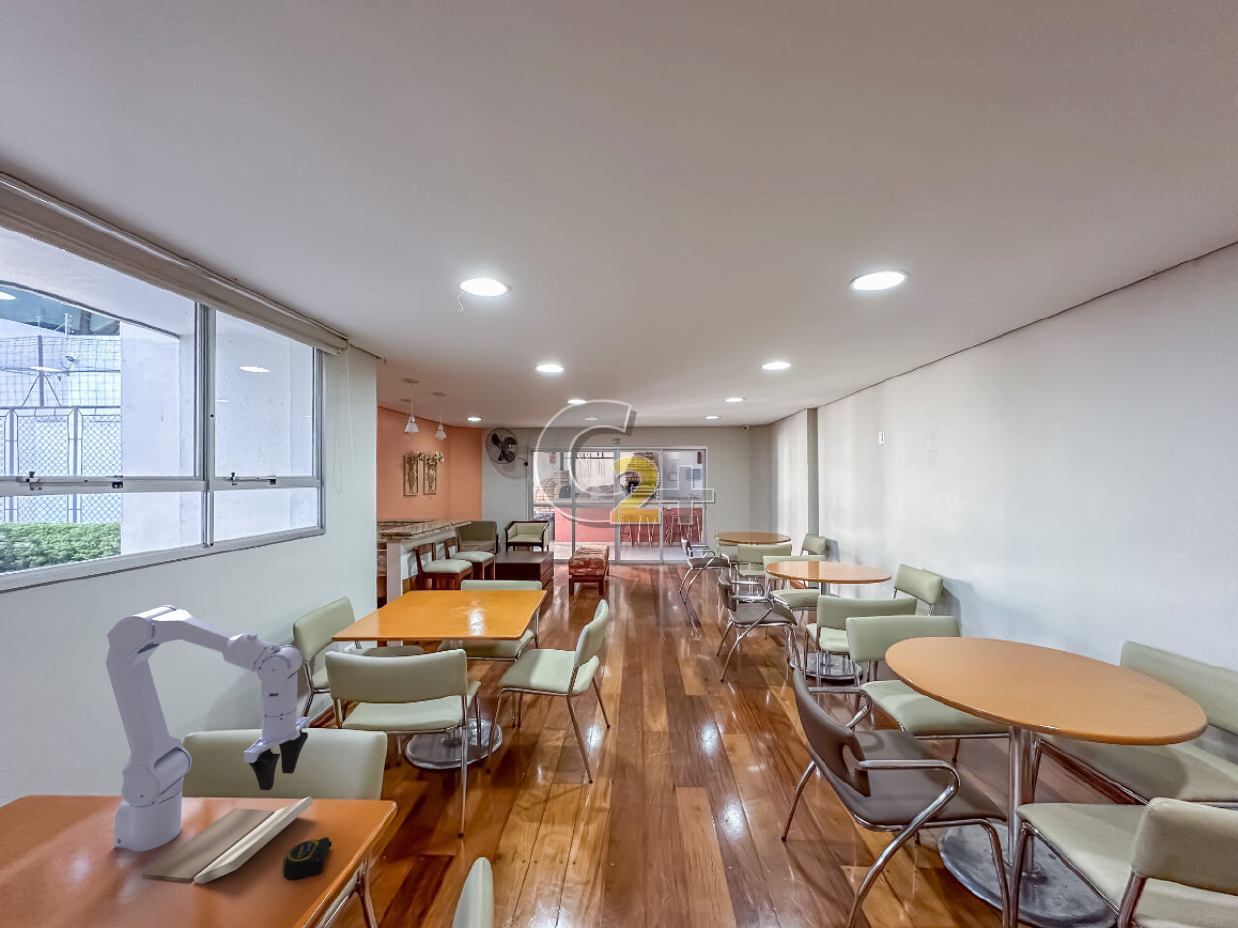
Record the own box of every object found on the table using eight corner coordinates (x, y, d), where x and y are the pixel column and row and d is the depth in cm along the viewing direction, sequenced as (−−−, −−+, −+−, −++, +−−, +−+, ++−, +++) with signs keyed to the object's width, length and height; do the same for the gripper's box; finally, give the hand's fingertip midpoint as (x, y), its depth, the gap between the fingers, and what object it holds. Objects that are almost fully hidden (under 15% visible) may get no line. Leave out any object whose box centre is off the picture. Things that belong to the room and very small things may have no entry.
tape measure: (322, 881, 86) (322, 859, 86) (276, 891, 84) (276, 868, 84) (331, 854, 93) (332, 833, 93) (289, 862, 91) (289, 840, 91)
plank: (194, 887, 85) (191, 878, 85) (278, 818, 102) (275, 811, 103) (236, 869, 84) (232, 860, 84) (313, 802, 102) (310, 795, 102)
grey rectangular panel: (142, 882, 86) (143, 873, 86) (234, 815, 104) (234, 807, 104) (189, 887, 85) (189, 878, 85) (274, 818, 103) (274, 810, 103)
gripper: (268, 728, 93) (266, 804, 92) (323, 696, 107) (321, 761, 106) (234, 726, 94) (231, 801, 93) (293, 695, 108) (291, 760, 107)
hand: (277, 780), depth 100 cm, fingers open, 5 cm apart
